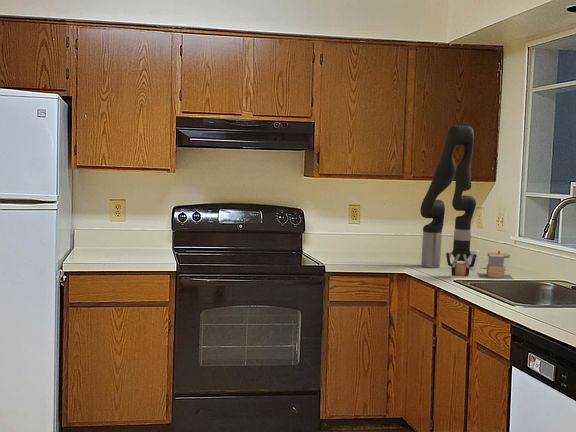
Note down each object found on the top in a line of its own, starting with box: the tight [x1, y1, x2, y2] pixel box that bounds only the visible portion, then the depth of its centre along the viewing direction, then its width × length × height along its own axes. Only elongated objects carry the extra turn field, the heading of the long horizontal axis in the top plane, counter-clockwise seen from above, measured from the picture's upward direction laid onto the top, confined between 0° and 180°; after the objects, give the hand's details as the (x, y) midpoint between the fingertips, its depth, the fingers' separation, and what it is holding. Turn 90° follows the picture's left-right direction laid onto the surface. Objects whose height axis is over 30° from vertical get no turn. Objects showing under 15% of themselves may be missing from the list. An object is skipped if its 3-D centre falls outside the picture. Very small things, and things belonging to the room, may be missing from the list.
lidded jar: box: [487, 250, 511, 270], centre depth 369 cm, size 11×11×9 cm
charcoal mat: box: [476, 272, 515, 280], centre depth 344 cm, size 13×15×1 cm
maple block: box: [486, 263, 506, 278], centre depth 343 cm, size 7×7×5 cm
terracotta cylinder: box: [454, 262, 467, 277], centre depth 344 cm, size 5×5×6 cm
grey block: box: [487, 254, 504, 267], centre depth 343 cm, size 6×6×4 cm
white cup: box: [462, 248, 481, 271], centre depth 364 cm, size 8×8×10 cm
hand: (459, 275), depth 344 cm, fingers closed on terracotta cylinder, 5 cm apart
